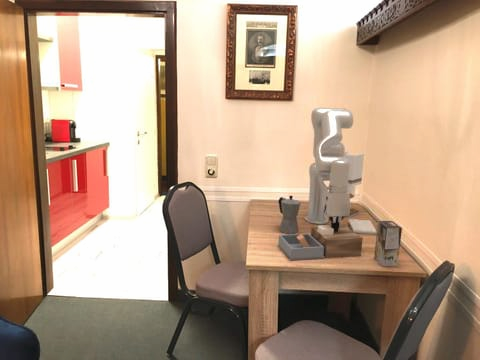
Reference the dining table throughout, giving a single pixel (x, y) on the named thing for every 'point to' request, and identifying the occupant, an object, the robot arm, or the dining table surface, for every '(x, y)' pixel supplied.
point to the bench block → (339, 243)
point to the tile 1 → (302, 241)
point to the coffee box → (387, 243)
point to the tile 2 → (325, 230)
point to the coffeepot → (289, 215)
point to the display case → (354, 176)
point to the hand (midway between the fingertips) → (334, 230)
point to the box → (300, 247)
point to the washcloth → (362, 226)
